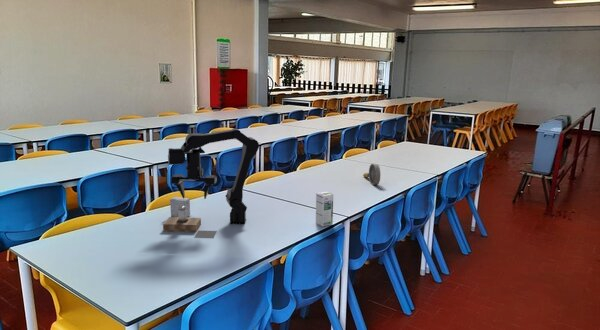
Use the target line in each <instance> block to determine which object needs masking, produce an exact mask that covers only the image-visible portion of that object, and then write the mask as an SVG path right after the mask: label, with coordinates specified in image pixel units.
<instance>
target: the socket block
mask: <svg viewBox="0 0 600 330" xmlns="http://www.w3.org/2000/svg"><path fill="white" fill-rule="evenodd" d="M201 226H202V218H201V217H190V216H189V217H186V223H179V217H171V216H169V217H167V219H166V220H165V221H164V223H163V224H162V230H163V231H162V232H172V233H173V232H174V233H176V232H177V233H197V232H198V230H200V227H201Z"/></svg>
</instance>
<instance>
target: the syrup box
mask: <svg viewBox="0 0 600 330" xmlns="http://www.w3.org/2000/svg"><path fill="white" fill-rule="evenodd" d="M333 211H334V194H333V193H331V192H329V191H323V192H317V193H315V224H317V225H319V226H321V227H327V226H330V225H331V226H332V225H333V220H334V219H333V218H334V215H333V214H334V212H333Z"/></svg>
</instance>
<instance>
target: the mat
mask: <svg viewBox="0 0 600 330" xmlns="http://www.w3.org/2000/svg"><path fill="white" fill-rule="evenodd" d="M217 233H218V231H217V230H200V229H198V230H197V232H196V233H195V235H194V236H193V238H194V239H214V238H215V236H216V235H217Z"/></svg>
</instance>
